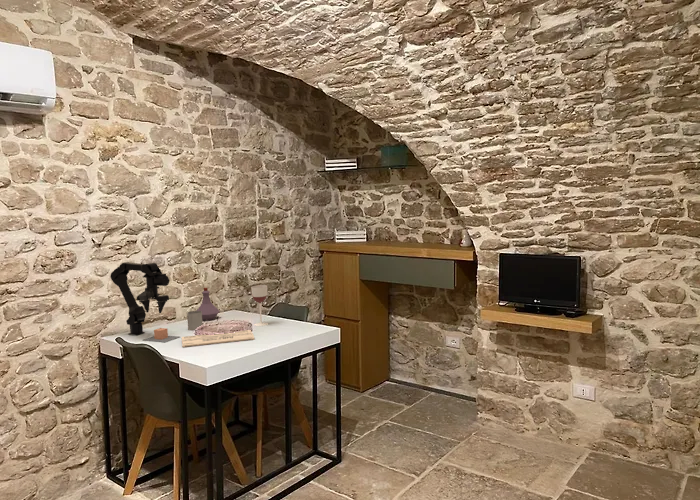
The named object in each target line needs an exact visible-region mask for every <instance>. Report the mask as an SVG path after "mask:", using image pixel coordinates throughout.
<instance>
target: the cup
mask: <svg viewBox="0 0 700 500" xmlns="http://www.w3.org/2000/svg"><path fill="white" fill-rule="evenodd" d="M186 314H187V317H186V318H187V330H188V331H194V330H195V329H196V328H197V327H199V326H201V325H203V320H202V311H197V310H191V311H187V313H186ZM203 326H204V325H203ZM195 331H196V330H195Z"/></svg>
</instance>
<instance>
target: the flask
mask: <svg viewBox="0 0 700 500" xmlns="http://www.w3.org/2000/svg"><path fill="white" fill-rule="evenodd" d="M210 293H211V291H209V290H208V287H203V291H202V292H201V294H202V300H201V304H200V305H199V307H198V308H197V310H196V311H202V322H203V321H204V322H205V321H213V320H214V319H215V318H216V317H217V315H218V314H219V313H220V312H221V311H220V310H219V309H218V307H216V306H215V305H214V304H213V303H212V301H211V299H210Z"/></svg>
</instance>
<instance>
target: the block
mask: <svg viewBox="0 0 700 500" xmlns="http://www.w3.org/2000/svg"><path fill="white" fill-rule="evenodd" d="M153 336H154V339H160V340H162V339H165V338H168V336H169V331H168V328H165V327H159V328H157V329H154V330H153Z"/></svg>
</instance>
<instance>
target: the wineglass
mask: <svg viewBox="0 0 700 500" xmlns="http://www.w3.org/2000/svg"><path fill="white" fill-rule="evenodd" d="M250 289H251V291H250V292H251V295H252V296H251V297H252V299H253V300H254V302H256V303H258V304H259V322H256V323H254V324H253V326H255V327H264V326H268V325H269V323H268V322H263V319H262V303H263V302H265V300H266V299H267V296H268V285H266V284H265V285H264V284H259V285H257V284H256V285H252V286H251V287H250Z"/></svg>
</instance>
